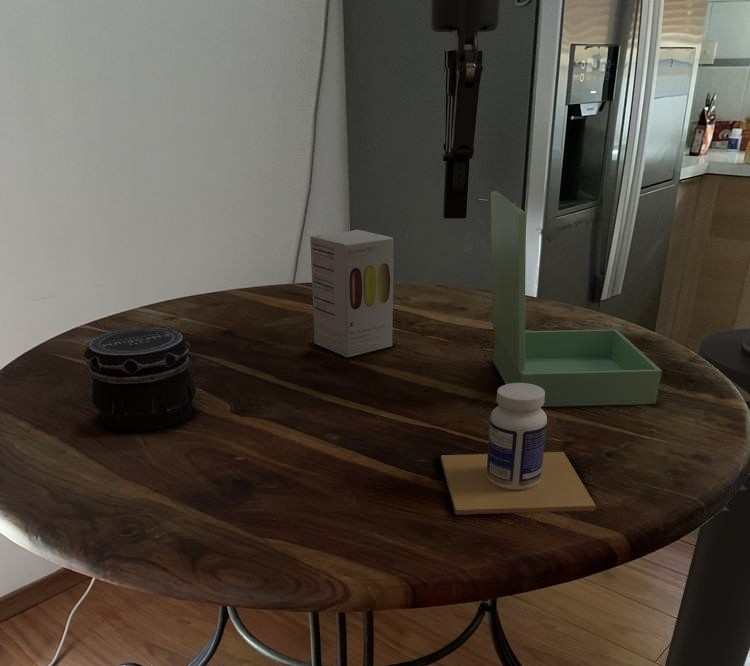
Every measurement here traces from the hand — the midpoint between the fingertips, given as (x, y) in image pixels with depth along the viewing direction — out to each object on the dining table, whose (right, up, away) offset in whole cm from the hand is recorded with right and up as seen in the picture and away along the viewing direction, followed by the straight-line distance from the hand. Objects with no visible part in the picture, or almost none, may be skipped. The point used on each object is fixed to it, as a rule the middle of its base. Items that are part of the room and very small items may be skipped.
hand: (454, 217), depth 92 cm
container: (-39, -25, +3) cm, 46 cm away
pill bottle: (+5, -33, -14) cm, 36 cm away
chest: (+17, -19, +12) cm, 28 cm away
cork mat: (+5, -34, -14) cm, 37 cm away
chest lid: (+8, -6, +4) cm, 11 cm away
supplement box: (-13, -11, +26) cm, 31 cm away
